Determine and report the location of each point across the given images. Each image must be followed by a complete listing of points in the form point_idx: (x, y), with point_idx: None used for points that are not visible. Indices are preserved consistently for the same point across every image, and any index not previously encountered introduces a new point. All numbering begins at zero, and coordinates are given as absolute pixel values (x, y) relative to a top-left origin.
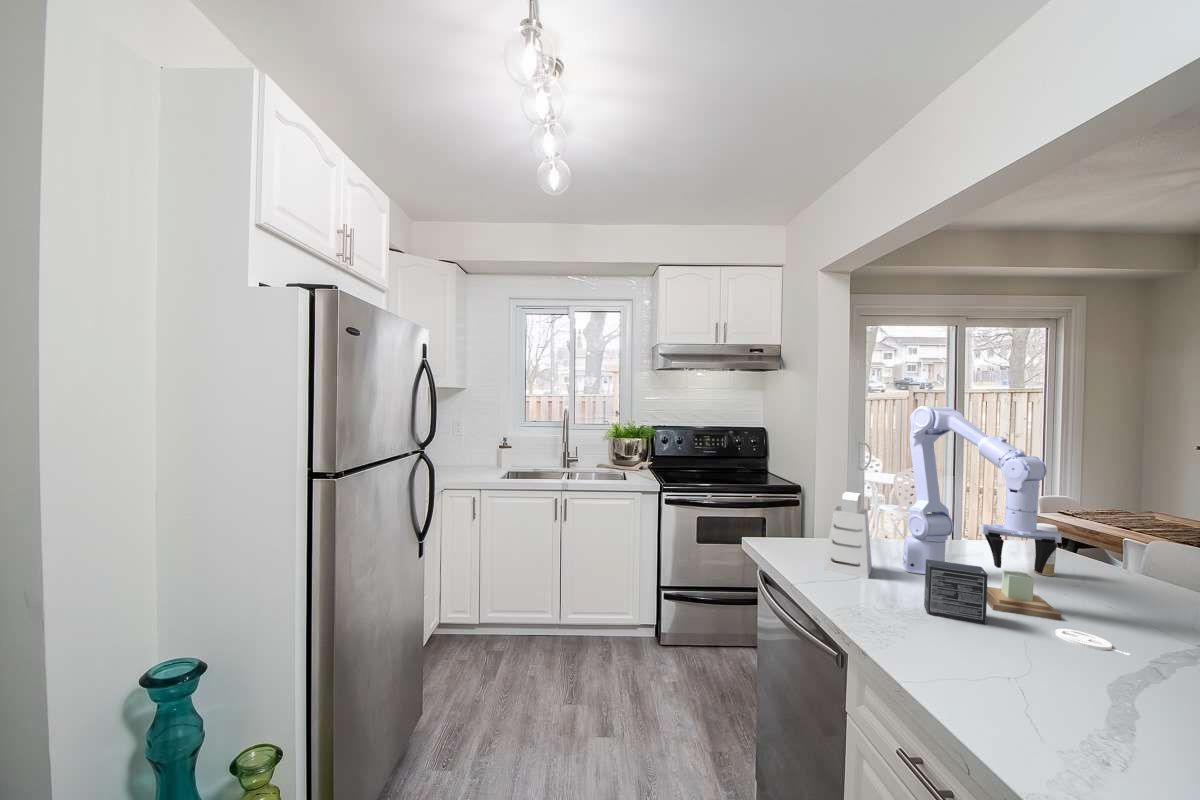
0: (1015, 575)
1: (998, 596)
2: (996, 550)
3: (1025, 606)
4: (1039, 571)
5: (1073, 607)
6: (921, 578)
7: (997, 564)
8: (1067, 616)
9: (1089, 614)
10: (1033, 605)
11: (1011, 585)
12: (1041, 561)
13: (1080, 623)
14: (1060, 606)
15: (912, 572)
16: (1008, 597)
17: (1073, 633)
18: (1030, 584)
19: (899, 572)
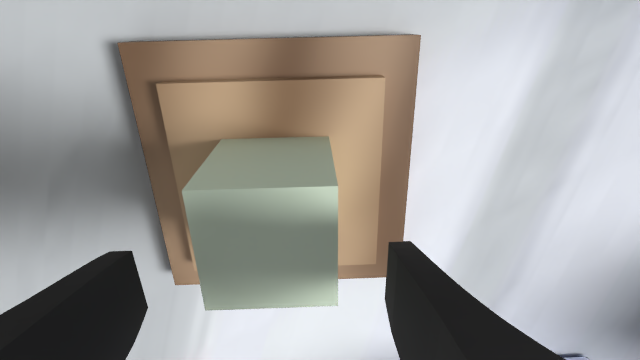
0: (291, 213)
1: (371, 134)
2: (520, 339)
3: (266, 77)
4: (118, 255)
5: (64, 256)
6: (560, 318)
7: (422, 253)
8: (97, 123)
9: (12, 200)
10: (229, 80)
11: (318, 161)
12: (45, 314)
13: (52, 44)
14: (109, 244)
15: (574, 357)
16: (327, 138)
17: None
18: (212, 172)
19: (617, 346)
